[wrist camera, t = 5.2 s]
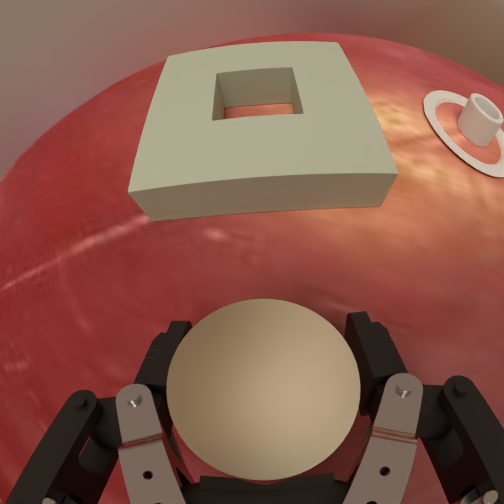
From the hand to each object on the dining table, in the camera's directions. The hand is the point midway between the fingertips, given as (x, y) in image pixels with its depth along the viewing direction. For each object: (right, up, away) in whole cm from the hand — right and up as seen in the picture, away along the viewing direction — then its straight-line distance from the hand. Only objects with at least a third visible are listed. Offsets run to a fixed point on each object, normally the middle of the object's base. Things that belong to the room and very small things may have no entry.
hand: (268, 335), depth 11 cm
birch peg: (+1, -3, +4) cm, 5 cm away
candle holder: (+22, +16, +10) cm, 29 cm away
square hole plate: (0, +14, +10) cm, 17 cm away
